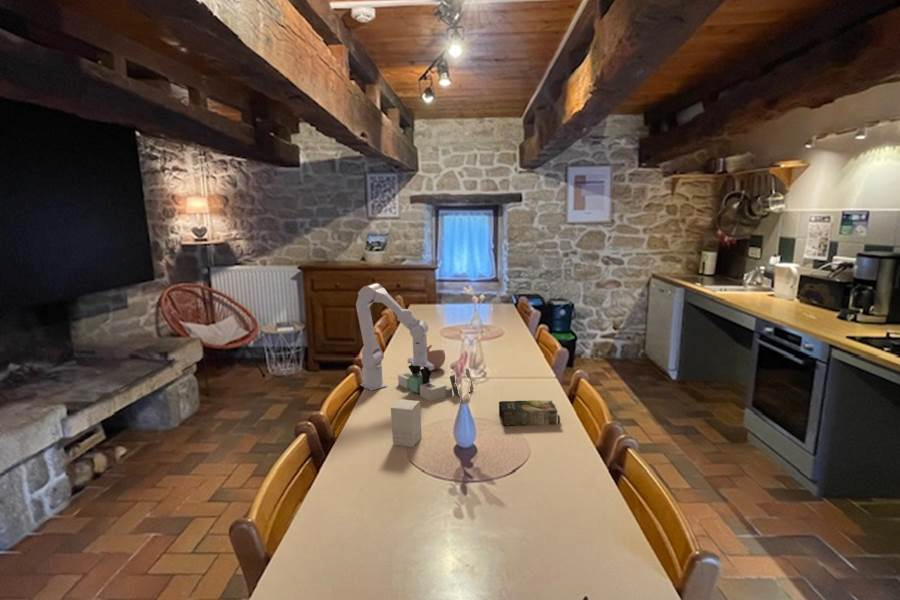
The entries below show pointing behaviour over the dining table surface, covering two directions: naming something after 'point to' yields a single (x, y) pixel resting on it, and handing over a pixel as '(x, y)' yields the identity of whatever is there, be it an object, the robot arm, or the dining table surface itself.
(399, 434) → the supplement box
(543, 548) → the dining table surface
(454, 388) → the electrical switch
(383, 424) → the dining table surface
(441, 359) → the reddish brown round piece
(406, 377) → the rail mount
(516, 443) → the dining table surface
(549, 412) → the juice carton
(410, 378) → the block
